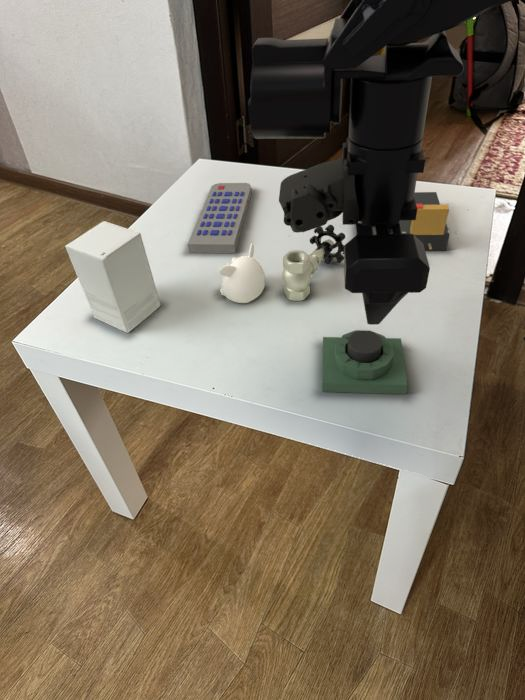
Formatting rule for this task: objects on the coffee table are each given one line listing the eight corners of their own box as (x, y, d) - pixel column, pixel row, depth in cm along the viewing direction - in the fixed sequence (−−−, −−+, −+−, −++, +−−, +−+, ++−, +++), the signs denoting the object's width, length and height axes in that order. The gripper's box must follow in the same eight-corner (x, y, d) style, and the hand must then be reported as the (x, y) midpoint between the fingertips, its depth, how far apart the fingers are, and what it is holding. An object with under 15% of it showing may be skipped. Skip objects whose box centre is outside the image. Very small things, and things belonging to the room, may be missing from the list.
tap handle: (442, 230, 78) (447, 202, 75) (443, 235, 77) (449, 207, 74) (409, 230, 79) (414, 203, 76) (410, 235, 78) (415, 207, 75)
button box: (399, 347, 65) (402, 327, 62) (405, 394, 59) (410, 374, 57) (322, 346, 66) (323, 326, 64) (321, 391, 60) (322, 372, 58)
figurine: (243, 272, 79) (239, 236, 75) (276, 284, 76) (274, 248, 72) (211, 299, 75) (205, 263, 70) (245, 313, 72) (241, 276, 67)
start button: (379, 340, 62) (380, 330, 60) (381, 363, 59) (383, 353, 58) (346, 340, 62) (347, 329, 61) (347, 363, 59) (348, 352, 58)
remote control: (189, 253, 84) (186, 242, 83) (214, 189, 100) (213, 179, 98) (235, 254, 83) (233, 243, 82) (253, 189, 99) (252, 179, 97)
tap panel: (439, 207, 89) (443, 190, 87) (457, 265, 77) (462, 248, 74) (354, 208, 91) (356, 192, 89) (358, 265, 78) (360, 248, 76)
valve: (308, 308, 72) (348, 266, 78) (308, 271, 67) (350, 230, 74) (271, 294, 75) (312, 255, 81) (268, 257, 70) (312, 219, 77)
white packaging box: (162, 305, 74) (142, 232, 66) (127, 335, 70) (101, 260, 61) (128, 290, 78) (104, 218, 69) (92, 318, 74) (62, 245, 65)
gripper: (288, 99, 46) (293, 243, 57) (275, 196, 33) (284, 358, 44) (410, 93, 45) (391, 241, 56) (447, 191, 32) (413, 359, 43)
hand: (369, 292), depth 50 cm, fingers open, 9 cm apart
